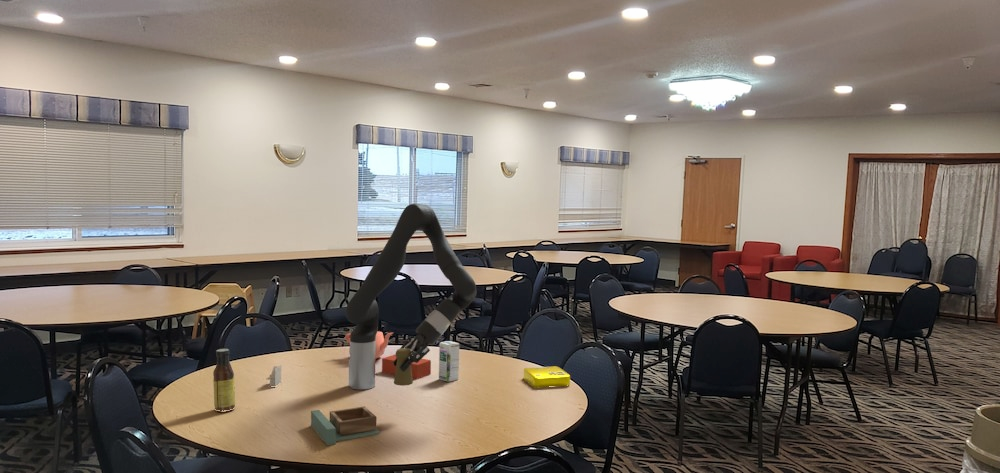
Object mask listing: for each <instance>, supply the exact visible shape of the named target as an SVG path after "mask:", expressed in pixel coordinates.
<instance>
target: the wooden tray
mask: <svg viewBox="0 0 1000 473" xmlns="http://www.w3.org/2000/svg"><path fill="white" fill-rule="evenodd" d="M377 418H378V417H377V416H376V415H375V414H374V413H373V412H372V411H370V410H369V409H368V408H367V407H366V406H359V407H357V406H356V407H351V408H345V409H337V410H331V411H329V421H330V422H331V424H332V425H333V426H334V427H335V428H336V432H337V433H338V434H339V435H340V436H341V435H346V434H352V433H358V432H364V431H370V430H376V429H377Z"/></svg>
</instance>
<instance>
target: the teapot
mask: <svg viewBox="0 0 1000 473" xmlns="http://www.w3.org/2000/svg"><path fill="white" fill-rule="evenodd" d="M350 334H351V332H349V333H346V334H345V335H344V336H345V337H344V338H345V340H346V342H347V344H349V345H350ZM393 334H394V332H388V333H386V334H385V337H384V334H383V332H382V331H377V334H376V338H375V359H379V358H381V356H383V355H384V353H385V350H386V348H387V347H388V345H389V339H390V337H391V336H392V335H393ZM348 352H349V354H350V348H349V350H348Z"/></svg>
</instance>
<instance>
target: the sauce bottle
mask: <svg viewBox="0 0 1000 473" xmlns="http://www.w3.org/2000/svg"><path fill="white" fill-rule="evenodd" d="M215 355H216V365H215V368H214V369H213V372H212V373H213V382H212V383H213V401H214V402H213V403H214V410H215V409H216V410H220V411H222V410H223V411H224V410H230V409H233V408H234V407H235V408H236V391H235V388H236V387H235V374H234V370H233V368H232V365H231V363H230V362H231V361H230V349H228V348H219V349H217V350H215Z"/></svg>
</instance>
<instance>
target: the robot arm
mask: <svg viewBox="0 0 1000 473" xmlns="http://www.w3.org/2000/svg"><path fill="white" fill-rule="evenodd" d="M416 231H420V232H423V234H425V236H426V237H427V239H428V240H429V241H430V244H431V247H432V252H433V257H434V261H435V263H436V264H437V266H438V268H439V269H440V271H441V273H442V274H443V276H444V277H445V278H446V279H447V280H448V281H449V282H450V284H451V285H452V288H454V291H453V293H452V294H451V295H450V296H449V297H447V298H444V299H443V300H442V301H441V302H440V303H439V304H438V305H437V306H436V307H435V309H433V311H431V312H430V313H429V314H428V315H427V316H426V318H425V319H424V320H423V321H422V322H421V323H420V324H419V326H417V328H416V329H415V333H416V335H415V336H413V337H411V336H408V337H407V338H406V340H405V341H404V342H403V344H402V345H401V347H400V348H399V349H401V348H407V349H410V354H409V356H408V357H407V358H408V359H407V358H406V359H405V361H404V362H403V363H402V364H401V365H400V366H399V368H400V369H401V370H402V371H403V372H404V371H405V370H406V369H407V368H408V367H409V366H410V365H411V364H412V363H414V362H415V363H417V362H419V361H420V360H421V359H424V357H425V356H426V355H427V354H428V353H430V351H431V349H430V348H429V347H428V346H429V345H430V346H434V345H435V344H436V343H437V341H438V340H439V339H440V337H441V336H442V335H443V334H444V333H445V332H446V331H447V329H448V328H449V326H450V325H451V324H452V322H453V321H454V320H456V318H457V317H458V315H460V313H461V312H463V311H464V310H465V309H466V308H467V307H469V305H470V304H471V303H473V302H474V300H475V298H476V297H477V285H476V282H475V280H474V279H473V277H472V276H471V275H470V273H469V272H468V271H467V270H466V268H464V266H463V264H462V262H461V260H460V259H459V257H458V256H457V255H456V253H455V251H454V250H453V248H452V247H451V245H450V242H449V241H448V239H447V237H446V234H445V232H444V230H443V227H442V226H441V224H440V222H439V218H438V216H437V214H436V212H435V211H434V209H433V207H431V206H429V205H427V204H420V203H410V204H408V205H407V206H405V207H404V209H403V210H402V212H401V214H400V216H399V219H398V221H397V222H396V225H395V226H394V229H393V231H392V233H391V235H390V237H389V238H388V240H387V242H386V243H385V246H384V248H383V249H382V250H381V252H380V253H379V255H378V257H377V258H376V260H375V262H374V263H373V265H372V267H371V269H370V271H369V272H368V273H367V275H366V278H364V281H363V282H362V283H361V286H360V287H359V288H358V290H357V291H356V292H354V295H353V296H352V297H351V299H350V300H349V301H348V303H347V305H346V308H345V317H346V319H347V320H348V322H350V323H351V324H356V326H355V328H354V329H353V330H352V331H351V332H350V333H351V334H350V344H349V349H350V353H349V359H348V386H349V387H350V388H351V389H354V390H369V389H373V388H375V387H376V358H375V338H376V334H377V331H378V329H379V314H380V312H379V304H378V302H377V301H376V299H377V297H378V296H379V295H380V294H381V293H382V292H383V291H384V290H385V289H386V288H388V287H389V286H390V284H392V283H393V282H394V280H396V278H397V277H398V275H399V274H400V272H401V270H402V269H403V267H404V265H405V261H406V256H407V246H408V244H409V242H410V240H411V239H412V237H413V236H414V234H415V233H416ZM378 332H379V331H378ZM393 364H394V365H395V366H396V365H397V358H396V359H395V360H394V362H393Z"/></svg>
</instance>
